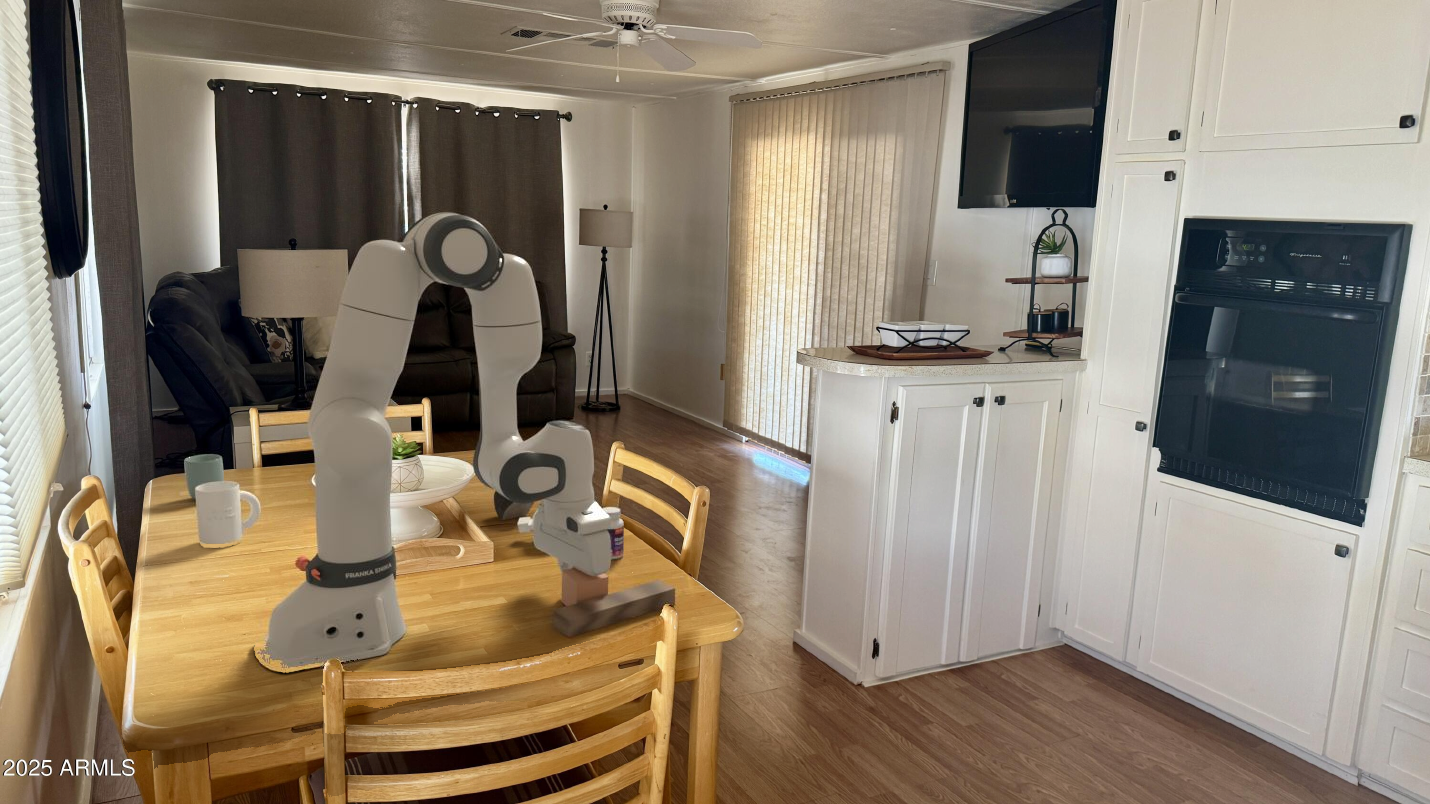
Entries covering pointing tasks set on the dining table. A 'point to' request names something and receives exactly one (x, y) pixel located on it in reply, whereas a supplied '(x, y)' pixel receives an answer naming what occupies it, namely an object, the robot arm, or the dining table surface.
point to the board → (612, 608)
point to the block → (582, 586)
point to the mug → (223, 512)
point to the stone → (509, 507)
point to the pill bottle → (615, 532)
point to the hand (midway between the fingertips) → (570, 584)
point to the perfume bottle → (526, 524)
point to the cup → (202, 471)
